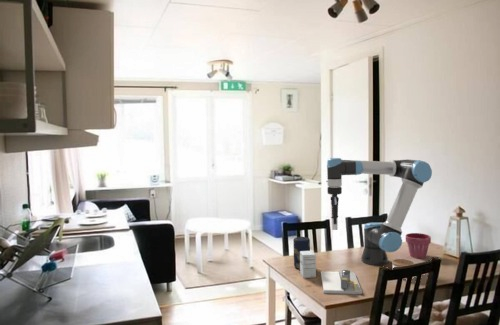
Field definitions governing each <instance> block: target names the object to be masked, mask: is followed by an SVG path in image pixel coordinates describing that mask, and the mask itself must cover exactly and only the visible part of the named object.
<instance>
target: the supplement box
mask: <svg viewBox="0 0 500 325" xmlns="http://www.w3.org/2000/svg"><path fill="white" fill-rule="evenodd" d="M316 258H317V256H316V253H315V252H314V251H313V250H310V251H300V269H299V274H300V275H301V277H302V279H303V278H304V279H306V278H309V279H310V278H316V277H317V261H316V260H317V259H316Z"/></svg>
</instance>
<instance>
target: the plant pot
mask: <svg viewBox="0 0 500 325" xmlns="http://www.w3.org/2000/svg"><path fill="white" fill-rule="evenodd" d="M431 241H432V237H431V235H429V234H425V233H421V232H412V233H411V232H410V233H406V234H405V242H406V244H407V247H408V252H409V257H411V258H414V259H425V258H426V257H427V254H428V250H429V246H430V244H431V243H432V242H431Z"/></svg>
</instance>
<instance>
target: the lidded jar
mask: <svg viewBox="0 0 500 325" xmlns="http://www.w3.org/2000/svg"><path fill="white" fill-rule="evenodd" d="M391 263H392V264H391V265H392V269H393V268H394V267H402V266H408V265H413V264H414V265H415V263H414V262H413V261H411V260H409V259H405V258H400V259H399V258H396V259H393V260H392V262H391Z"/></svg>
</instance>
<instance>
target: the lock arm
mask: <svg viewBox="0 0 500 325" xmlns="http://www.w3.org/2000/svg"><path fill="white" fill-rule="evenodd" d="M341 272H342V278H341V288H343V289H347V288H348V283H349V281H350V273H351V270H349V269H343V270H341Z"/></svg>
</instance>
